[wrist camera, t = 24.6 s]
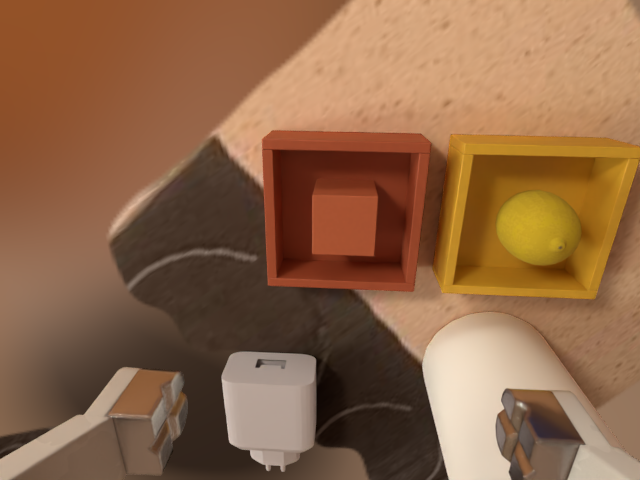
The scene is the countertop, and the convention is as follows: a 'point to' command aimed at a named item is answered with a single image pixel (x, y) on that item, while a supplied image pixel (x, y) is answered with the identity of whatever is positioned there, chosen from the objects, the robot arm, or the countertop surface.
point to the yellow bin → (518, 176)
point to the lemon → (538, 227)
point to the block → (344, 217)
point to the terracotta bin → (353, 164)
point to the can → (488, 387)
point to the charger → (271, 405)
